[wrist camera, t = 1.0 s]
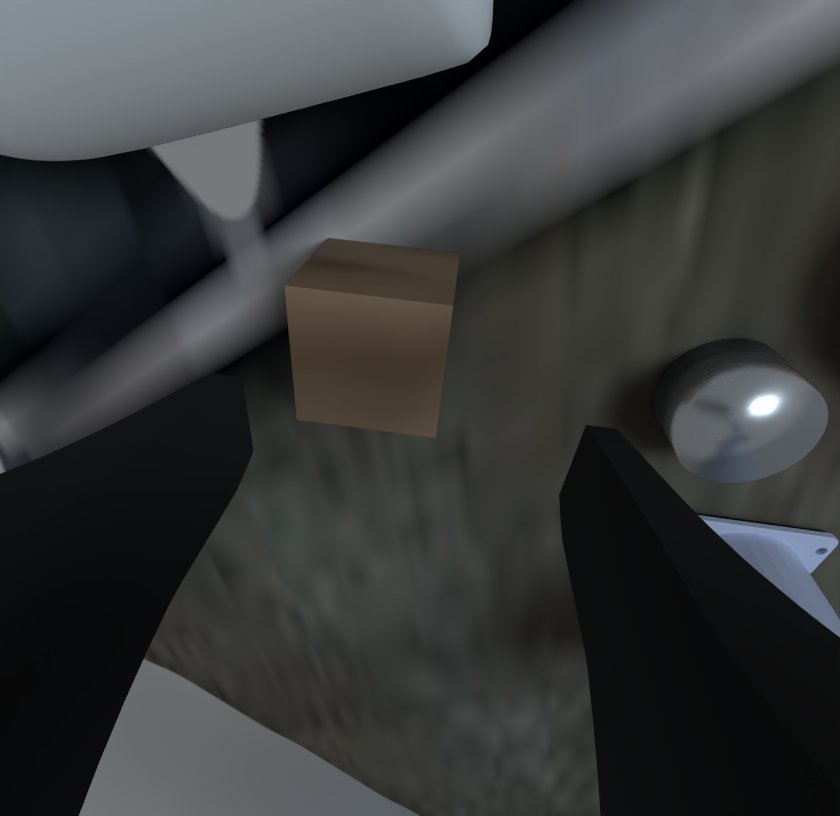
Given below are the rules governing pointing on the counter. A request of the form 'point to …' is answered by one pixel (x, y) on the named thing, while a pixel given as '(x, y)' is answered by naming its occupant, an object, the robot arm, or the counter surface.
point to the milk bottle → (206, 64)
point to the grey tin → (738, 411)
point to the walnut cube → (371, 335)
